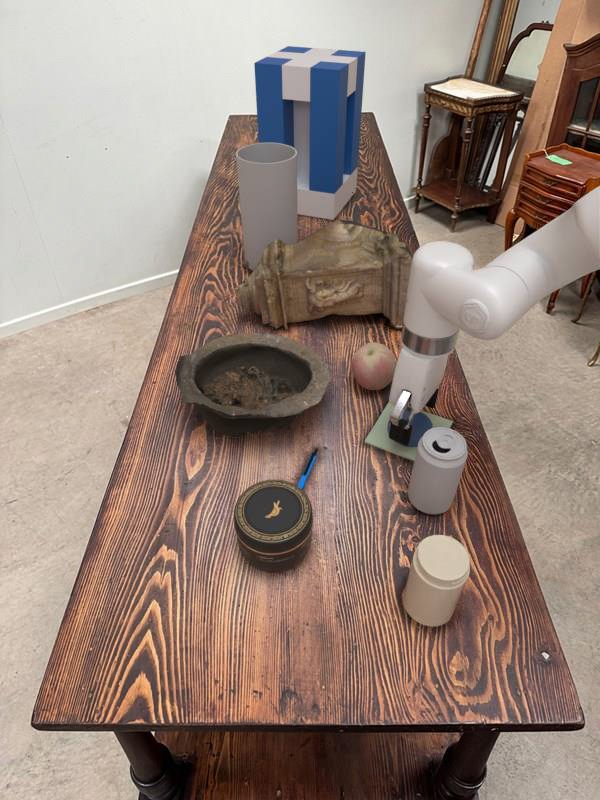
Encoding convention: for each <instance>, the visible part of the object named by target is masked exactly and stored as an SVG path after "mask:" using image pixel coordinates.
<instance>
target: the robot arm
mask: <svg viewBox="0 0 600 800" xmlns="http://www.w3.org/2000/svg"><path fill="white" fill-rule="evenodd" d="M474 268H475V260H474V256H473V254H472V252H471V251H470V250H469V249H467V248H466V247H465V246H464V245H461V244H459V243H456V242H451V241H446V240H445V241H444V240H437V241H430V242H427V243H424V244H422V245H420V246H419V247H418V248H417V249H416V250H415V252H414V254H413V259H412V264H411V271H410V277H409V284H408V291H407V298H406V305H405V312H404V318H403V325H402V328H401V332H400V339H399V340H400V344H401V346H402V347H401V349H400V352H399V355H398V358H397V360H396V368H395V372H394V376H393V379H392V381H391V386H390V391H389V397H388V402H389V403H390V404H391V405H394V406H395V407H394V409H393V410H392V412H391V414H390V423H391V426H390V432H389V438H390V439H392V440H394V441H396V442H398V443H401V444H403V445H405V446H407V445H408V444H409V442H410V437H411V432H412V427H413V426H412V425H411V422H412V420H413V417H414V415H415V414H417V413H419V412H420V411H421V410H422V411H423V409H424V408H426V407H427V408H428V409H434V408H435V407H436V404H437V400H438V396H439V391H440V389H439V388H440V385H441V384H442V381H443V379H444V376H445V373H446V370H447V369H446V368H447V365H448V360H449V356H450V355H451V354H453V352H454V351H455V350H456V346H457V342H458V337H459V332H460V330H461V331H462V332H464V333H466V334H467V335H469V336H471V337H472V338H476V339H478V340H481V341H482V340H483V341H491V340H492V341H493V340H496V339H499V338H501V337H502V336H504V335H505V334H507V333H508V332H509V331H510V330H511V329H512V328H513V327H514V326H515V325H516V324H517V323H518V322H519V321H520V320H521V319H522V318H523V317H524V316H525V315H526V314H528V312H530V311H531V310H532V308H534V307H535V306H536V305H537V304H538V303H540V301H542V300H543V299H545V298H546V297H548V296H549V295H551V294H552V293H555V292H556V291H558V290H559V289H561V288H564V287H565V286H567V285H569V284H571V283H573V282H575V281H577V280H578V279H580V278H582V277H584V276H587V275H589V274H591V273H593V272H596V271H599V270H600V185H598V186H597V187H595V188H594V189H592V190H591V191H589V192H588V193H586V194H584V195H583V196H582V197H580V198H579V199H578V200H577V201H575V203H573V205H572V206H571V207H570V208H568V209H567V210H565V211H564V212H563V213H562V214H560V215H558V216H557V217H555V218H554V219H552V220H550V221H549V222H547V223H546V224H544V225H543V226H542V227H540V228H539V229H537V230H535V231H534V232H532V233H531V234H529V235H527V236H526V237H525V238H523V239H522V240H520V241H519V242H517V243H516V244H514V245H512V246H511V247H510V248H508V249H507V250H505V251H503V252H502V253H501V254H500V255H498V256H497V257H495V258H494V259H493V260H491V261H490V262H489V263H487V264H486V265H484V266H483V267H482V268H478V269H477V268H476V269H474ZM409 403H410V405H408V404H409ZM395 404H396V405H395ZM407 405H408V406H407ZM409 406H410V407H409ZM411 407H412V408H411ZM404 410H407V411H409V412H410V413H409V416H408V418H407V421H406V420H404V419H402V415H403V412H404Z"/></svg>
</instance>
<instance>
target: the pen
mask: <svg viewBox="0 0 600 800" xmlns="http://www.w3.org/2000/svg"><path fill="white" fill-rule="evenodd" d="M318 451H319V448H317V447H316V448H315V449H314V451H313V452H312V453H310V456H309V459H308V461H307V463H306V465H305V467H304V470H303V472H302V474H301V477H300V479H299V481H298V483H297V485H296V486H298V487H299V488H301V489H302V490H303V488H304V486H305V484H306V481H307V479H308V477H309V475H310V472H311V470H312V468H313V466H314V463H315V461H316V460H317V457H318V454H317V452H318Z"/></svg>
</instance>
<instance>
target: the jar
mask: <svg viewBox="0 0 600 800" xmlns="http://www.w3.org/2000/svg"><path fill="white" fill-rule="evenodd" d="M233 525H234V531H235V534H236V541H237V545H238V548H239V550H240V552H241V554H242V556H243V557H244V559H245V560H246V561H247V562H248V563H249V564H250V565H251V566H252V567H254V568H256V569H258V570H260V571H263V572H267V573H279V572H284V571H287V570H290V569H292V568H293V567H295V566H297V565H298V564H299V563H300V562H302V560H303V559H304V558H305V556H306V555H307V553H308V551H309V549H310V546H311V542H312V538H313V537H312V536H313V526H314V514H313V506H312V502H311V501H310V497H309V496H308V494H306V492H305V491H304V490H303V489H301V488H299V487H298V486H297V485H296V484H295V483H293V482H291V481H287V480H283V479H265V480H261V481H259V482H256V483H253V484H252V485H250V486H249V487H247V488H246V489H245V490H244V491H242V493H241V494H240V495H239V497H238V498H237V500H236V502H235V505H234V508H233Z"/></svg>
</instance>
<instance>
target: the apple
mask: <svg viewBox="0 0 600 800" xmlns="http://www.w3.org/2000/svg"><path fill="white" fill-rule="evenodd" d="M396 364H397V359H396V357H395V355H394V354H393V352H392V350H391V349H390V348H389V347H388V346H386V345H385V344H384V343H381V342H376V341H372V342H370V341H369V342H367V343H365V344H363V345H361V346H360V347H359V348H358V349H357V350H355V352H354V354H353V356H352V359H351V373H352V375H353V378H354V380H355V381H356V383H358V385H360V387H362V388H363V389H366V390H368V391H379V390H383V389H385V388H386V387H387V386H389V384H390V383H392V381H393V376H394V372H395V368H396Z"/></svg>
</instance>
